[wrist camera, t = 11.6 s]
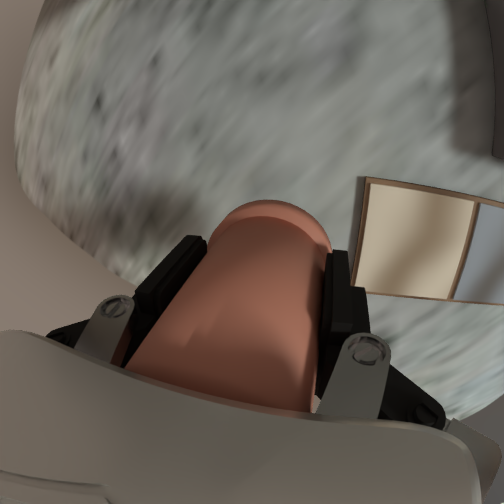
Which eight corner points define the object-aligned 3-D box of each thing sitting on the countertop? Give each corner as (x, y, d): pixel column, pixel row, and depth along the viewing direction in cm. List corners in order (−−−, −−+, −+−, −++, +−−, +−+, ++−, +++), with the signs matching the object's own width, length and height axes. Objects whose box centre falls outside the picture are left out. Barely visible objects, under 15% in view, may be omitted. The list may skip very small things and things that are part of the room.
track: (348, 288, 20) (349, 293, 19) (365, 176, 16) (366, 178, 16) (561, 306, 14) (564, 309, 14) (588, 230, 11) (592, 233, 10)
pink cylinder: (218, 297, 14) (106, 509, 5) (209, 196, 12) (-11, 430, 2) (324, 311, 13) (283, 565, 4) (339, 205, 11) (320, 581, 1)
